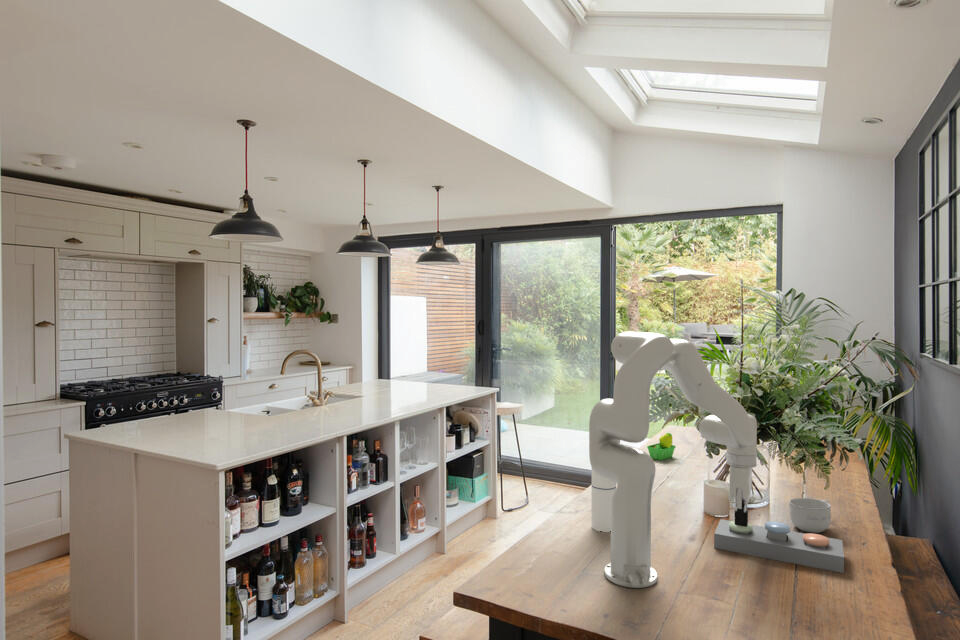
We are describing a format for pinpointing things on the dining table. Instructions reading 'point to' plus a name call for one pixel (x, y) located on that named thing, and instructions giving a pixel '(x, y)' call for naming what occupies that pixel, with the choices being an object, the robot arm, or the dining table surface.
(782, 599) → the dining table surface
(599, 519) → the cylindrical container
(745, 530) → the button sage
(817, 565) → the button panel
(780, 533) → the button slate
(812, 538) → the button terracotta
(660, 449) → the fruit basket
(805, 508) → the teacup
